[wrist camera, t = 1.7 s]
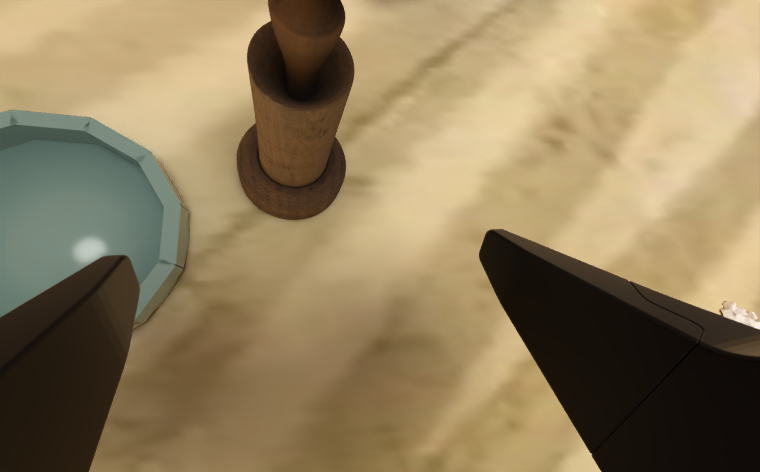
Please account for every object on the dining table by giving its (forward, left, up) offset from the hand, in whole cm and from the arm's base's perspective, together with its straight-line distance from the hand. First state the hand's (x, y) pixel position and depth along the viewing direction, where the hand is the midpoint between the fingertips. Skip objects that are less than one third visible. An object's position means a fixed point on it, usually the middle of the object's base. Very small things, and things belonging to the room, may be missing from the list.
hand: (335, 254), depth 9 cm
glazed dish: (-10, +9, -14) cm, 19 cm away
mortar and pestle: (+3, +7, -14) cm, 16 cm away
